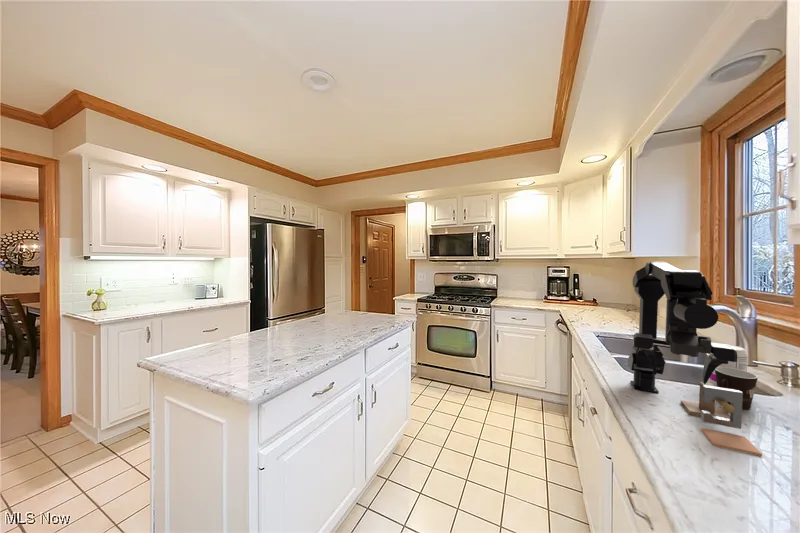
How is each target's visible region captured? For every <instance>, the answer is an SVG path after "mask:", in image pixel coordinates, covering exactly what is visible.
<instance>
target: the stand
mask: <svg viewBox="0 0 800 533" xmlns="http://www.w3.org/2000/svg"><path fill="white" fill-rule="evenodd" d="M702 385H707V386H714V385H713V384H711V383H710V382H707V383H706V384H703V381H699V395H698V396H699V397H698V402H693V401H687V400H682V399H680V404H681V406H682V407H683V408H684V409H685V411H686V412H687V413H688V414H689V415H691V416H697V417H701V410H704V411H709V412H710V413H711V414H712V416H717V417H723V418H728V419H730V413H733V412H734V411H735V408H734V407H733V406H732V405H730V404H728V403H727V402H725V401H719V400H713V399H712V403H709V402H704V401H703V400H702ZM714 387H715V386H714ZM716 403H717V404H718V405H720V406H718V405H716Z"/></svg>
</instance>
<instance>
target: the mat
mask: <svg viewBox="0 0 800 533" xmlns="http://www.w3.org/2000/svg"><path fill="white" fill-rule="evenodd" d="M700 431H701V432H702V433H703V434H704V436H705V437H706V439H708V441H709V442H710V443H711V444H712V446H714V447H719V448H723V449H727V450H731V451H736V452H740V453H745V454H750V455H755V456H758V457H763V453H762V452H761V451H760V450H759V449H758V448H757V447H756V446H755V445H754V444H753V443H752V442H751V441H750V440H749V439H748V438H747V437H746V436H743V435H739V434H738V435H737V434H733V433H728V432H724V431H720V430H719V431H718V430H713V429H709V428H704V427H701V428H700Z"/></svg>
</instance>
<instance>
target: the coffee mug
mask: <svg viewBox="0 0 800 533" xmlns="http://www.w3.org/2000/svg"><path fill="white" fill-rule="evenodd" d="M715 375H716V383H717V387H720V388H727V389H734V390H740V391H741V392H742V393H743V399H742V411H749V410H751V408H752V405H753V404H752V403H753V399H754V394H755V391H756V387H757V383H758V382H757V381H758V378H759V376H758V375H757V374H755V373H752V372H749V371H748V370H747V371H743V370H739V369H734V368H727V367H717V368H716V369H715ZM727 403H728V404H730V405H731V402H727Z"/></svg>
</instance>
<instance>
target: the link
mask: <svg viewBox="0 0 800 533" xmlns="http://www.w3.org/2000/svg"><path fill="white" fill-rule="evenodd" d="M712 399H713V400H719V401H725V402H731V405H732V406H733V407H734V408H735V411H734V412H733V413H729V415H730V419H728V418H723V417H717V416H712V414H711V413H710V412H709V411H704V410H701V416H700V419H701V421H702V422H704V423H708V424H713V425H718V426H722V427H723V426H724V427H728V428H735V429H738V430H742V421H743V420H742V419H743V414H742V413H743V410H742V399H743V393H742V392H741V391H740V390H734V389H727V388H720V387H714V386H707V385H702V400H703V401H704V402H709V403H712Z"/></svg>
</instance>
